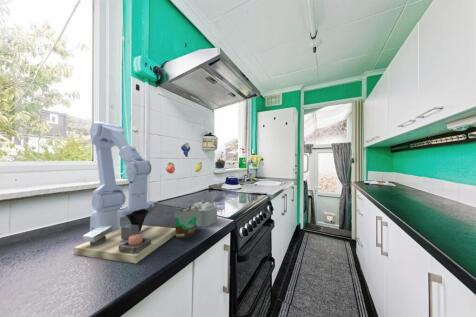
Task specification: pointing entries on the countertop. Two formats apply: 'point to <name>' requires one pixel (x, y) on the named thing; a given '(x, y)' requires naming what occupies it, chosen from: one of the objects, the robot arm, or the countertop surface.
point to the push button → (135, 240)
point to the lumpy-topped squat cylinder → (206, 214)
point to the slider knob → (129, 231)
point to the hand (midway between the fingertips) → (137, 231)
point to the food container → (186, 221)
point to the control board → (126, 245)
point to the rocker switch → (97, 233)
